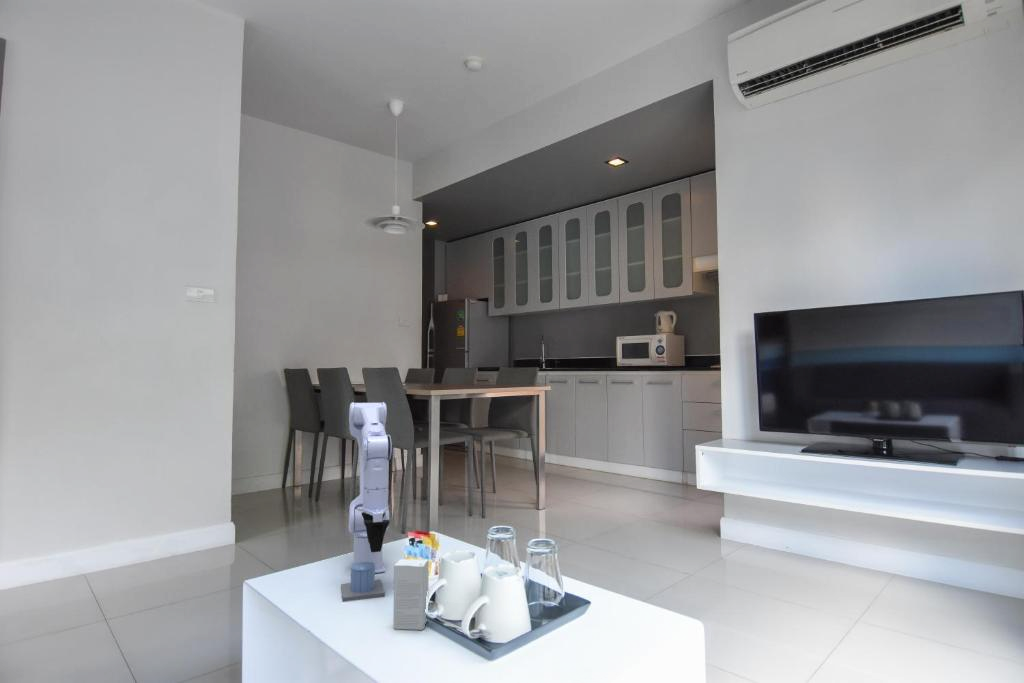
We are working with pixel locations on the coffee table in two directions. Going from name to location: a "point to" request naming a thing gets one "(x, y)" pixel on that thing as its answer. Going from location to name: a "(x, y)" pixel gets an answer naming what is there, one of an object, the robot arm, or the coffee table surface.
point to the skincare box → (410, 594)
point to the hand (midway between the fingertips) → (374, 546)
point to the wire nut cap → (362, 577)
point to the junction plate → (350, 595)
